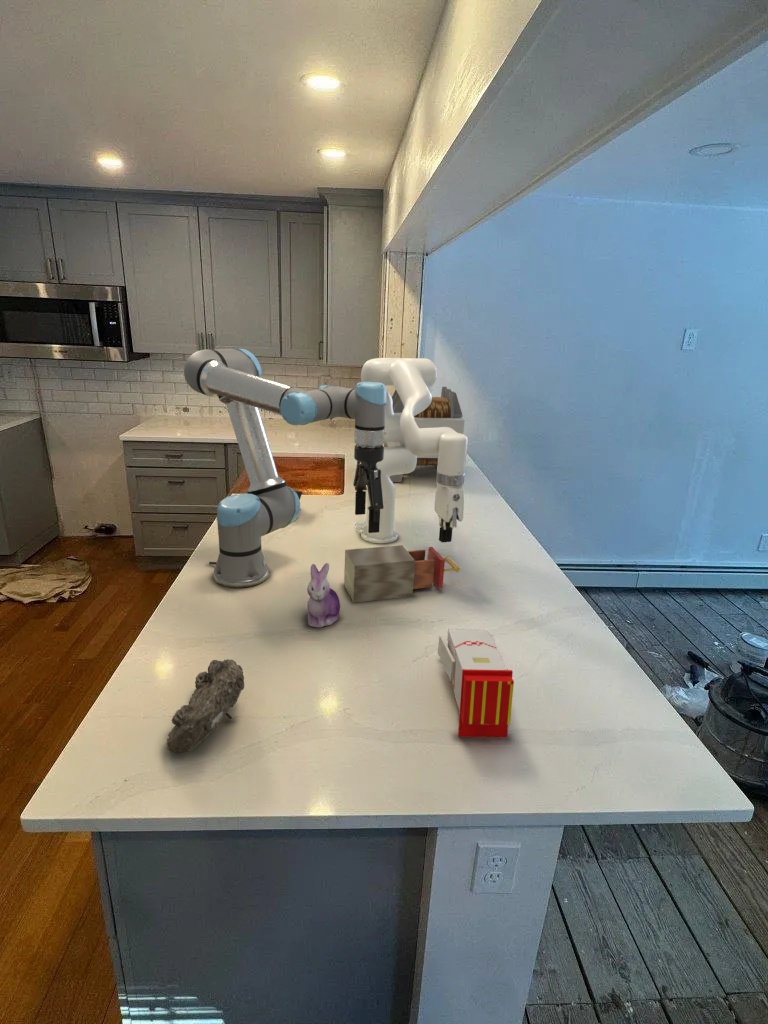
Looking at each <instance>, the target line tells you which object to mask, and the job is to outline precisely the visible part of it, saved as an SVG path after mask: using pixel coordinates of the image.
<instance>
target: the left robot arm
mask: <svg viewBox="0 0 768 1024" xmlns="http://www.w3.org/2000/svg"><path fill="white" fill-rule="evenodd" d="M183 375H184V379H185V382H186V383H187V384H188V386H189V387H190V388H191V389H192V390H193V391H195V392H197V393H199V394H202V395H205V396H207V397H211V398H215V397H216V398H218V401H219V402H221V403H222V404H224V405H225V406H226V409H227V412H228V415H229V418H230V422H231V425H232V429H233V432H234V434H235V439H236V441H237V445H238V448H239V452H240V455H241V458H242V462H243V464H244V468H245V471H246V475H247V477H248V481H249V487H248V489H247V491H246V492H247V493H246V492H244V493H239V494H237V493H235V494H232V495H229V496H227V497H225V498H223V499H221V500H220V502H219V503H218V505H217V508H216V510H217V511H216V512H217V514H216V522H217V534H218V549H219V550H218V551H219V553H218V556H217V560H216V561H209V562H208V564H209V565H215V566H214V570H213V577H214V578H213V579H214V580H215V582H216V583H217V584H218V585H220V586H223V587H227V588H237V589H239V588H248V587H253V586H256V585H259V584H261V583H263V582H265V581H266V580H267V579H268V578H269V573H270V572H269V571H270V570H269V566H268V563H267V558H266V557H265V556H264V552H263V550H262V537H263V536H266V535H268V534H271V533H274V532H276V531H277V530H280V529H284V528H287V527H288V526H289V525H291V524H293V523H295V521H296V520H297V519H298V516H299V515H300V512H301V510H300V509H301V501H300V500H299V497H298V495H297V493H296V492H295V491H296V490H294V489H293V488H292V487H290V486H288V485H287V482H286V480H285V479H283V478H282V477H280V476H279V473H278V470H277V466H276V462H275V459H274V456H273V453H272V450H271V445H270V442H269V439H268V435H267V432H266V429H265V425H264V423H263V422H264V421H263V419H262V415H261V412H260V410H263V411H266V412H269V413H272V414H276V415H278V416H281V417H282V419H283V420H284V421H285V422H286V423H287V424H288V425H291V426H305V425H308V424H312V423H316V422H320V421H325V420H329V419H335V418H345V419H351V420H354V441H353V442H354V444H355V445H354V455H353V457H354V460H355V461H356V467H355V472H354V479H353V484H352V485H353V487H354V490H355V499H354V500H355V501H354V515H355V516H359V515H360V516H361V515H366V505H367V488H368V494H369V501H370V506H369V507H368V510H369V526H368V532H369V533H377V532H379V526H380V509H383V508H384V506H383V497H382V486H381V470H380V469H378V468H377V467H376V463H378V462H381V461H382V460H383V458H384V435H386V432H385V410H386V403H387V401H386V390H387V388H386V387H387V386H385V385H384V384H382V383H378V382H361V381H359V382H357V383H356V384H355V388H350V387H345V386H344V387H343V386H336V385H333V384H331V385H325V384H323V385H320V386H319V387H318V388H317V389H312V390H306V389H303V388H298V387H294V386H292V385H289V384H285V383H281V382H278V381H274V380H271V379H269V378H268V379H267V378H264V377H262V366H261V364H260V362H259V360H258V358H257V357H256V356H255V354H253V353H252V352H251V351H249V350H247V349H245V348H239V347H238V348H237V347H230V348H216V349H213V348H212V349H200V350H197V351H195V352H193V353H192V354H191V355H189V357H188V358H187V359H186V361H185V363H184V367H183Z"/></svg>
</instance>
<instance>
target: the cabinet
mask: <svg viewBox="0 0 768 1024" xmlns="http://www.w3.org/2000/svg"><path fill="white" fill-rule="evenodd" d="M408 551H409V550H407V549H406V548H405V546H404V545H402V544H399V545H388V546H378V547H377V546H375V547H374V546H373V547H363V548H350V549H344V570H343V571H344V574H343V575H344V576H343V577H344V578H343V585H344V587H345V590H346V591H347V593H348V595H349V597H350V599H351V601H352V603H353V604H354V603H355V604H356V603H365V602H373V601H383V600H390V599H391V600H392V599H399V598H400V599H401V598H408V597H413V596H414V589H413V583H414V568H415V560H414V559H413V557H412V556H411V555H410V554H409V553H408Z"/></svg>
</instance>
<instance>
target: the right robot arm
mask: <svg viewBox="0 0 768 1024" xmlns="http://www.w3.org/2000/svg"><path fill="white" fill-rule="evenodd" d="M360 374H361V375H360V382H378V383H382V384H384V385H385V387H387V386H393V387H394V389H395V390H396V391H397V393H398V395H399V397H400V399H401V401H402V403H403V405H404V409H403V411H402V413H394V412H393V401H392V395H391V394H390V392H389V390H388V389H386V401H387V403H386V410H385V432H386V435H384V443H389V442H398V446H392V447H391V446H390V447H384V446H383V447H384V458H383V460H382V461H381V462H378V463H376V467H377V468H378V469H380V470H381V486H382V497H383V506H384V508H383V509H380V526H379V532H377V533H369V532H368V526H369V510H368V507H369V506H370V501H369V494H368V488H367V490H366V519H365V520H366V521H364V522H362V521H355V522H354V527H355V529H356V530H361V534H360V535H361V538H362V539H363V540H364V541H366V542H368V543H373V544H389V543H393V542H395V541H397V540H398V537H399V534H398V532H397V531H396V530H395V528H394V527H395V510H396V509H395V508H396V507H395V506H396V486H395V484H394V482H392V481H391V480H390V476H391V475H398V474H403V475H405V474H406V475H407V474H410V473H412V472H414V471H415V469H416V468H417V466H416V464H417V456H426V455H438V465H437V466H436V480H435V483H436V490H435V497H434V512H435V513H436V514H437V516H438V521H439V523H438V524H439V525H438V526H439V530H438V531H439V533H438V540H439V542H440V543H452V539H453V530H454V528H457V527H458V526H457V525H458V524H457V523H458V522H463V521H464V511H465V510H464V509H465V492H464V486H465V476H466V466H467V455H468V444H469V440H468V439H469V438H468V436H466V434H464V433H463V434H460V433H457V432H455V431H454V430H453V429H452V428H449V427H434V428H420V429H419V428H418V426H417V424H416V422H415V420H414V416H415V415H417V414H419V413H421V412H422V411H424V410H425V409H426V408H427V407H428V406H429V405H430V403H431V401H432V397H433V396H432V393H431V392H430V389H429V387H432V386H434V385H435V383H436V381H437V378H438V370H437V366H436V364H435V363H434V362H433V360H431V359H429V358H425V357H421V358H419V357H416V358H415V357H376V358H371V359H368V360H367V361H365V362H364V364H363V365H362V367H361V372H360ZM457 521H458V522H457Z"/></svg>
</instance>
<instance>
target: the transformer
mask: <svg viewBox="0 0 768 1024" xmlns="http://www.w3.org/2000/svg"><path fill="white" fill-rule="evenodd" d="M440 393H441V394H440V396H432V401H431V403H430V405H429V406H428V407H427V408H426V409H425V410H424V411H422V412H421V413H419V414H417V415H415V416H414V420H415V422H416V424H417V426H418V428H419V429H420V428H434V427H449V428H452V429H453V430H454V431H455V432H457V433H460V434H463V435H464V431H465V430H464V429H465V419H464V418H463V411H462V408H461V405H460V402H459V398H458V395H457V392H455V391H453V390H452V389H451V388H447V386H442V387H441V392H440ZM391 397H392V401H393V412H394V413H402V411H403V409H404V405H403V403H402V401H401V399H400V397H399V395H398V393H397V391H396V389H395V390H394V392H393V394H392V395H391ZM390 446H391V447H392V446H398V442H389V443H384V444H383V447H390ZM437 465H438V455H426V456H417V464H416V467H417V466H418V467H437ZM403 475H404V474H398V475H391V476H390V480H391V481H392V482H393V483H402V482H403Z"/></svg>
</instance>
